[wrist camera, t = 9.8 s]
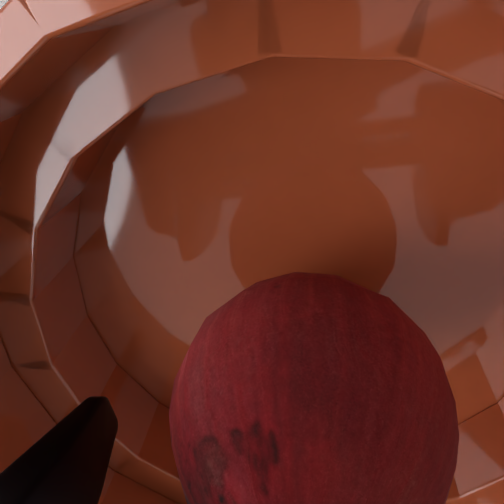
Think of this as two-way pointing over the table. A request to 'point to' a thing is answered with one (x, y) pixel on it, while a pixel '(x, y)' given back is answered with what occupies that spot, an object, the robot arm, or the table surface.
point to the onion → (313, 401)
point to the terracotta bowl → (242, 198)
